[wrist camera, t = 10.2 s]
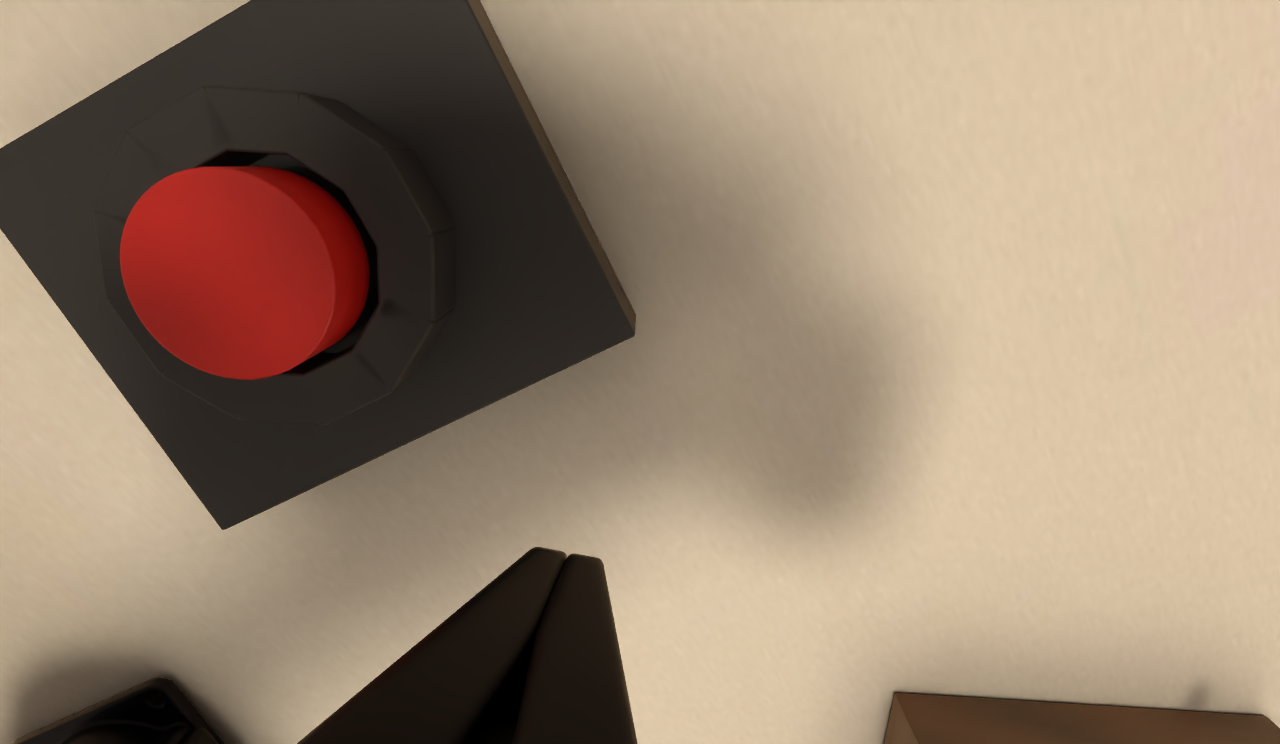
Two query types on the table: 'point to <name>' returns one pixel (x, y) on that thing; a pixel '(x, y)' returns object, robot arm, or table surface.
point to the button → (243, 268)
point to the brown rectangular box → (1063, 723)
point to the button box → (372, 196)
